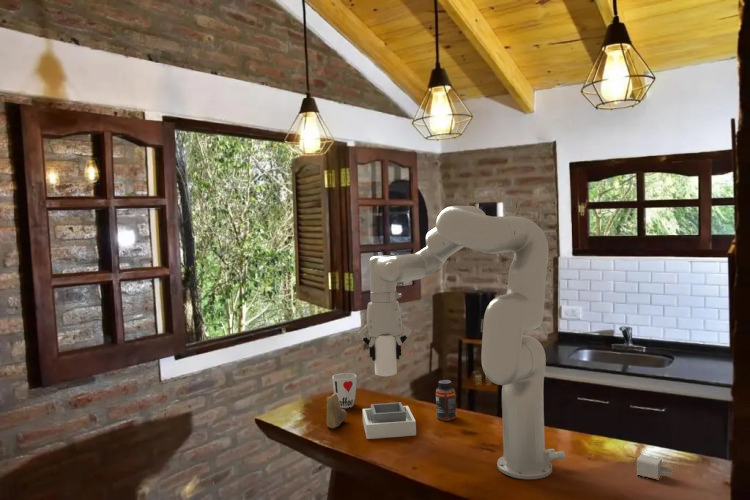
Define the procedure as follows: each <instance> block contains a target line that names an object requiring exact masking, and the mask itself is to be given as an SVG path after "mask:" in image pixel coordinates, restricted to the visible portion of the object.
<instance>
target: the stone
mask: <svg viewBox="0 0 750 500" xmlns="http://www.w3.org/2000/svg"><path fill="white" fill-rule="evenodd" d="M326 402H327V403H326V426H327V427H328V428H330V429H336V428H338V427H340V425H341V424H342V423H343V422H344V421H345V420H346V418H347V415H348V414H347V411H346V409H345V408H341V407H340V405H339V400H338V396H337V394H334V393H333V394H331V396H329V397H327V400H326Z"/></svg>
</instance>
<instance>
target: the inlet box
mask: <svg viewBox="0 0 750 500" xmlns="http://www.w3.org/2000/svg"><path fill="white" fill-rule="evenodd" d="M362 424H363V429H364V432H365V433H364V434H365V436H366V437H365V438H366V439H367V440H370V439H371V440H375V439H385V438H386V439H387V438H398V437H399V438H400V437H410V436H412V437H413V436H417V421H416V419H415V417H414V415H413V413H412V411H411V409H410V407H409V405H403V404H402V402H401V401H400V402H387V403H371V404H370V408H362Z"/></svg>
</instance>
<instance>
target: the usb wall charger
mask: <svg viewBox="0 0 750 500" xmlns="http://www.w3.org/2000/svg"><path fill="white" fill-rule="evenodd" d="M673 473H675V469H673V468H669V467H665V466H663V459H662V458H658V457H655V456H649V455H646V454H640V455H639V456H638V457H637V459H636V476H637V475H643V476H648V477H654V478H659V476H660V475H661V474H662V475H665V476H670V477H672V476H673Z"/></svg>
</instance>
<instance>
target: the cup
mask: <svg viewBox="0 0 750 500" xmlns="http://www.w3.org/2000/svg"><path fill="white" fill-rule="evenodd" d="M331 379H332V389H333V394H337V396H338V400H339V405H340V407H341V409H349V407H350V408H352V407H354V403H355V400H356V393H357V374H356V373H351V372H341V373H335V374H334V375H332V378H331Z"/></svg>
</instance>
